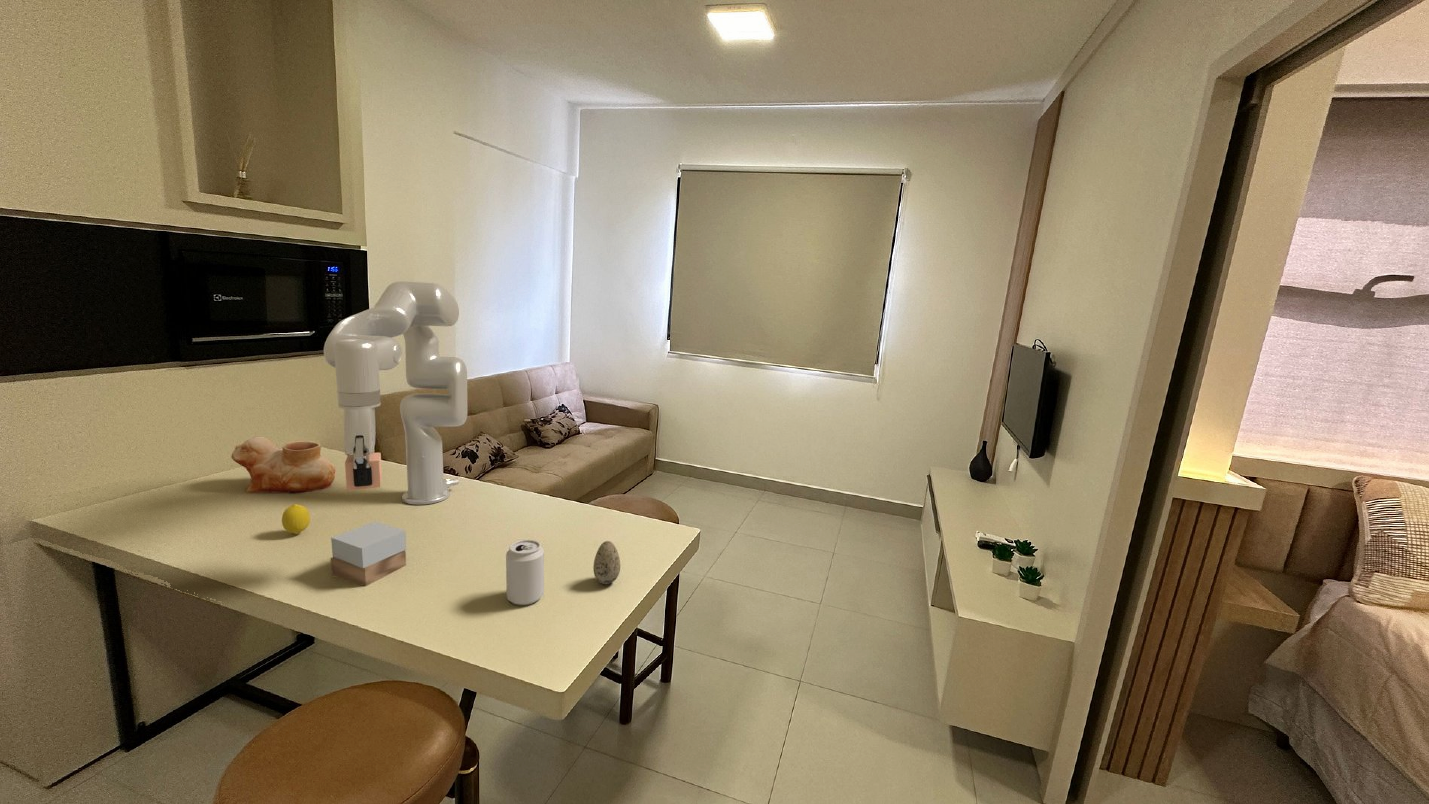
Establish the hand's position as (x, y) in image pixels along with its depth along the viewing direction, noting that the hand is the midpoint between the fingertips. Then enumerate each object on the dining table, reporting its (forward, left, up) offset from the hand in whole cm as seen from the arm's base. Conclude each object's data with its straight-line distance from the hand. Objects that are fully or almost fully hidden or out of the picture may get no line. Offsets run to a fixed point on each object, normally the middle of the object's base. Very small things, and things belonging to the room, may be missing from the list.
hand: (364, 479), depth 118 cm
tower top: (0, 0, -17) cm, 17 cm away
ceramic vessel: (-10, -69, -22) cm, 73 cm away
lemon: (+2, -31, -22) cm, 38 cm away
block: (0, 0, -1) cm, 1 cm away
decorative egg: (-29, +44, -22) cm, 57 cm away
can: (-14, +35, -22) cm, 43 cm away
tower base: (0, 0, -22) cm, 22 cm away
